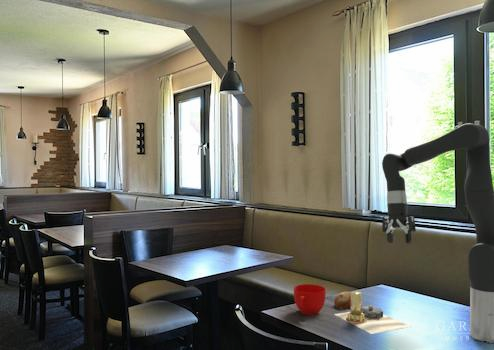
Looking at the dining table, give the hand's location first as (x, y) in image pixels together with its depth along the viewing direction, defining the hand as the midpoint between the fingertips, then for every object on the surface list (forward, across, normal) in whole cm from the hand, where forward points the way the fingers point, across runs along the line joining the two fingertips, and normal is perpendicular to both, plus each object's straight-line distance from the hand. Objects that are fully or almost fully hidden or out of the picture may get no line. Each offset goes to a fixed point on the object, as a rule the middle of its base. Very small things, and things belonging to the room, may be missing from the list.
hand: (399, 243), depth 175 cm
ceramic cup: (+28, -24, -28) cm, 47 cm away
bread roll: (+27, -23, -8) cm, 36 cm away
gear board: (+30, -3, -16) cm, 34 cm away
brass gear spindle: (+28, -6, -20) cm, 35 cm away
